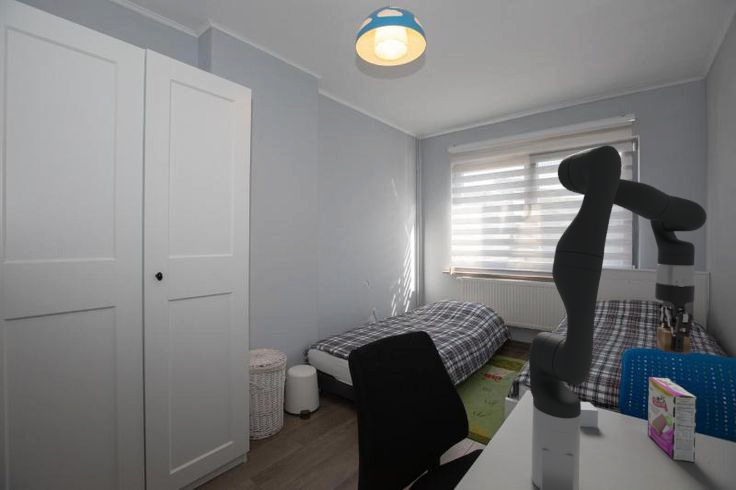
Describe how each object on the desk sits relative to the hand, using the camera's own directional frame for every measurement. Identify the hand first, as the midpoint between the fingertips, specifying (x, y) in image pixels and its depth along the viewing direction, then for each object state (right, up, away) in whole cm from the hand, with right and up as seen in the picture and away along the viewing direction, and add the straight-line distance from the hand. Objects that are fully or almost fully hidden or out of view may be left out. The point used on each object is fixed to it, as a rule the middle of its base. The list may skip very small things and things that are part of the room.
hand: (672, 348), depth 90 cm
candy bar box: (0, -26, +1) cm, 26 cm away
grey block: (-14, -26, +13) cm, 32 cm away
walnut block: (0, 0, 0) cm, 0 cm away
